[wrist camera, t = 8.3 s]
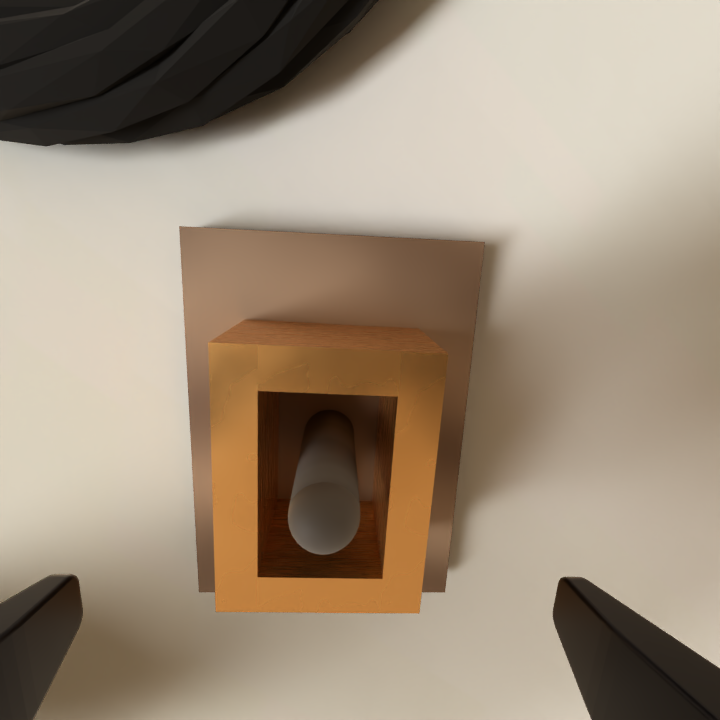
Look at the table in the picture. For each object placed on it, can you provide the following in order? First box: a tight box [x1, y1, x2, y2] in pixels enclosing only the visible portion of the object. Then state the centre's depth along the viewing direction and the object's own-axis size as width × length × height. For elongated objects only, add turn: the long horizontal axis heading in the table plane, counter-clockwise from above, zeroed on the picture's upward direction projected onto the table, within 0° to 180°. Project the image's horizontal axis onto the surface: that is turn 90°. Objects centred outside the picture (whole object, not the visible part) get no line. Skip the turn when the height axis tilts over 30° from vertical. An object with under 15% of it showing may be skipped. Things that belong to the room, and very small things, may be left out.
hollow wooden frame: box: [208, 320, 448, 613], centre depth 13 cm, size 8×6×4 cm
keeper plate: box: [179, 226, 485, 592], centre depth 13 cm, size 14×10×7 cm
